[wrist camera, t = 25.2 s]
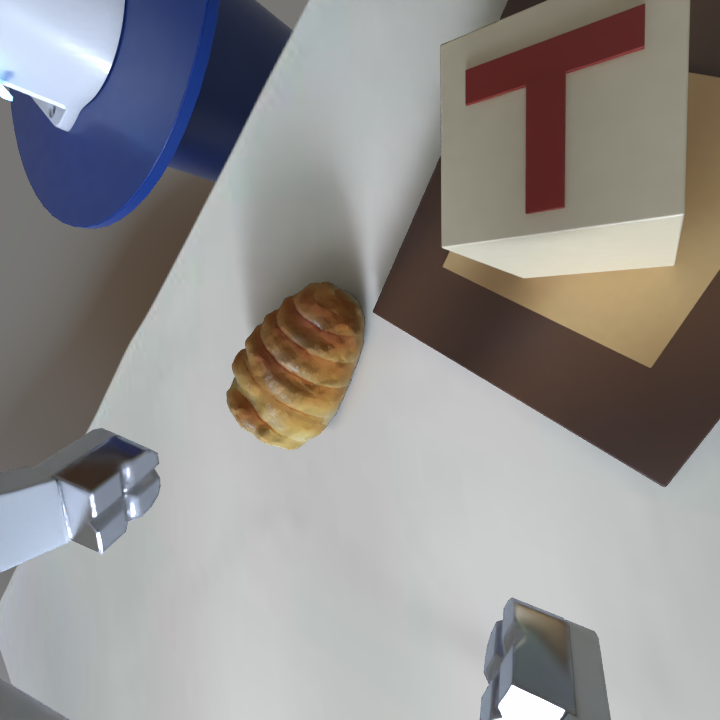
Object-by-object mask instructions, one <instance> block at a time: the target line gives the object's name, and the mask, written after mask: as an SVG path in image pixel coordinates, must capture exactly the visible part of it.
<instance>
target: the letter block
mask: <svg viewBox="0 0 720 720" xmlns="http://www.w3.org/2000/svg"><path fill="white" fill-rule="evenodd" d="M689 30H690V0H547V1H544V2H542V3H540V4H537V5H535V6H533V7H530V8H528V9H525V10H523V11H521V12H518V13H516V14H513V15H511V16H509V17H506V18H504V19H502V20H499V21H497V22H494V23H492V24H490V25H487V26H485V27H482V28H480V29H478V30H475V31H473V32H471V33H468V34H466V35H463V36H461V37H459V38H456V39H454V40H452V41H449V42H447V43H444V44H442V45H441V46H440V65H441V243H442V248H444V249H446V250H449V251H452V252H454V253H457V254H460V255H462V256H465V257H468V258H470V259H473V260H476V261H478V262H481V263H484V264H487V265H489V266H492V267H495V268H497V269H500V270H503V271H505V272H508V273H511V274H513V275H516V276H519V277H521V278H534V277H546V276H558V275H570V274H582V273H594V272H606V271H618V270H629V269H641V268H653V267H665V266H674V265H675V261H676V255H677V250H678V245H679V240H680V235H681V230H682V225H683V220H684V214H685V185H686V147H687V108H688V69H689Z"/></svg>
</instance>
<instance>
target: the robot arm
mask: <svg viewBox="0 0 720 720" xmlns="http://www.w3.org/2000/svg"><path fill="white" fill-rule="evenodd" d="M124 7H125V0H0V96H1V97H2V98H5V99H7V100H10V101H12V99H13V97H12V96H11V95H10V94H9V92H8V91H7V90H6V89H5V88H4V87H3V86H2V84H3V85H5V86H7V87H10V88H12V89H15V90H17V91H20V92H22V93H25V94H28V95H30V96H31V97H32V99H33V100H34V101H35V102H36V104H37V105H38V106H39V107H40V108H41V110H42V111H43V112H44V113H45V115H46V116H47V117H48V118H49V120H50V121H51V122H52V123H53V125H54V126H56V127H58V128H60V129H62V130H64V131H67V132H68V131H70V130H71V128H72V127H73V125H74V123H75V121H76V119H77V117H78V115H79V113H80V111H81V110H82V109H83V107H84V106H85V105H87V104H88V103H89V102H90V101H91V100H92V99H93V98H94V97H95V96H96V94H97V93H98V92H99V90H100V89H101V87H102V85H103V83H104V82H105V80H106V78H107V75H108V73H109V71H110V68H111V66H112V63H113V60H114V57H115V54H116V51H117V47H118V43H119V39H120V34H121V29H122V23H123V16H124ZM158 464H159V459H158V453H157V452H155V451H153V450H151V449H148V448H146V447H144V446H142V445H140V444H137V443H135V442H133V441H131V440H128V439H126V438H124V437H122V436H119V435H117V434H115V433H112V432H110V431H108V430H105V429H103V428H100V429H95V430H92V431H90V432H89V433H87V434H86V435H84V436H82V437H81V438H79V439H78V440H76V441H75V442H73V443H71V444H70V445H68V446H67V447H65V448H64V449H62V450H60V451H59V452H57V453H55V454H54V455H52V456H51V457H49V458H48V459H46V460H44V461H43V462H41V463H40V464H38V465H36V466H35V467H33V468H30V467H28V466H25V467H21V468H17V469H12V470H8V471H4V472H0V572H2V571H5V570H7V569H9V568H12V567H14V566H16V565H18V564H21V563H23V562H25V561H27V560H30V559H32V558H34V557H37V556H39V555H41V554H43V553H46V552H48V551H50V550H52V549H55V548H57V547H59V546H61V545H64V544H66V543H68V542H70V540H72V541H75V542H77V543H79V544H81V545H83V546H86V547H88V548H90V549H92V550H95V551H97V552H99V553H101V554H102V553H103V552H104V551H105V550H106V549H107V548H109V547H110V546H111V545H112V544H113V543H114V542H115V541H116V540H117V539H118V538H119V537H120V536H121V535H122V534H124V533H125V532H126V529H127V525H128V521H130V520H133V519H136V518H139V517H142V516H143V515H144V514H145V513H146V512H147V511H148V510H149V509H150V508H151V506H152V505H153V503H154V502H155V500H156V498H157V497H158V494H159V490H160V486H161V485H160V477H159V476H158V474H157V472H156V471H155V469H154V468H155V467H156V466H157V465H158ZM484 674H485V676H486V679H487V681H488V683H489V686H488V687H487V689H486V691H485V693H484V694H483V696H482V698H481V711H480V720H611V718H610V711H609V704H608V698H607V691H606V684H605V678H604V671H603V665H602V658H601V651H600V645H599V638H598V636H597V635H596V633H595V631H592V630H590V629H587V628H585V627H583V626H580V625H578V624H575V623H573V622H570V621H568V620H565V619H564V618H562V617H560V616H557V615H555V614H552V613H550V612H547V611H545V610H542V609H540V608H537V607H535V606H532V605H529V604H527V603H524V602H522V601H519V600H517V599H514V598H511V599H509V600H508V602H507V603H506V605H505V607H504V612H503V620H501V621H498V622H496V624H495V626H494V628H493V630H492V632H491V635H490V638H489V642H488V645H487V650H486V656H485V664H484ZM0 720H69V719H68V718H66V717H64V716H63V715H61V714H59V713H58V712H56V711H54V710H53V709H51V708H50V707H48V706H46V705H45V704H43V703H41V702H40V701H38V700H36V699H35V698H33V697H31V696H30V695H28V694H26V693H25V692H23V691H21V690H20V689H18V688H16V687H15V686H13V685H12V684H10V683H8V682H6V681H4V680H3V679H1V678H0Z"/></svg>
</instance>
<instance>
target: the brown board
mask: <svg viewBox="0 0 720 720" xmlns="http://www.w3.org/2000/svg"><path fill="white" fill-rule="evenodd" d="M544 1H547V0H508V2H507V5H506V7H505V9H504V11H503V14H502V16H501V18H500V20H502V19H504V18H506V17H509V16H511V15H513V14H516V13H518V12H521V11H523V10H525V9H528V8H530V7H533V6H535V5H537V4H540V3H542V2H544ZM373 312H374V313H375V314H377V315H378V316H380V317H382V318H383V319H385V320H387V321H388V322H390V323H392V324H393V325H395V326H397V327H398V328H400V329H402V330H403V331H405V332H407V333H408V334H410V335H412V336H413V337H415V338H417V339H418V340H420V341H421V342H423V343H425V344H426V345H428V346H430V347H431V348H433V349H435V350H436V351H438V352H440V353H441V354H443V355H445V356H446V357H448V358H450V359H451V360H453V361H455V362H456V363H458V364H460V365H461V366H463V367H465V368H466V369H468V370H470V371H471V372H473V373H475V374H476V375H478V376H480V377H481V378H483V379H485V380H486V381H488V382H490V383H491V384H493V385H495V386H496V387H498V388H500V389H501V390H503V391H505V392H506V393H508V394H510V395H511V396H513V397H515V398H516V399H518V400H520V401H521V402H523V403H525V404H526V405H528V406H529V407H531V408H533V409H534V410H536V411H538V412H539V413H541V414H543V415H544V416H546V417H548V418H549V419H551V420H553V421H554V422H556V423H558V424H559V425H561V426H563V427H564V428H566V429H568V430H569V431H571V432H573V433H574V434H576V435H578V436H579V437H581V438H583V439H584V440H586V441H588V442H589V443H591V444H593V445H594V446H596V447H598V448H599V449H601V450H603V451H604V452H606V453H608V454H609V455H611V456H613V457H614V458H616V459H618V460H619V461H621V462H623V463H624V464H626V465H628V466H629V467H631V468H632V469H634V470H636V471H637V472H639V473H641V474H642V475H644V476H646V477H647V478H649V479H651V480H652V481H654V482H656V483H657V484H659V485H661V486H662V487H666V486H667V485H668V484H669V483H670V481H671V480H672V479H673V478H674V476H675V475H676V474H677V472H678V471H679V470H680V469H681V467H682V466H683V465H684V464H685V462H686V461H687V460H688V459H689V457H690V456H691V455H692V453H693V452H694V451H695V450H696V448H697V447H698V446H699V445H700V443H701V442H702V441H703V440H704V438H705V437H706V436H707V435H708V433H709V432H710V431H711V429H712V428H713V427H714V426H715V424H716V423H717V422H718V421H719V419H720V0H690V30H689V69H688V108H687V147H686V185H685V214H684V220H683V225H682V230H681V235H680V240H679V245H678V250H677V255H676V261H675V265H674V266H665V267H653V268H641V269H629V270H618V271H606V272H594V273H582V274H570V275H558V276H546V277H534V278H521V277H519V276H516V275H513V274H511V273H508V272H505V271H503V270H500V269H497V268H495V267H492V266H489V265H487V264H484V263H481V262H478V261H476V260H473V259H470V258H468V257H465V256H462V255H460V254H457V253H454V252H452V251H449V250H446V249H444V248H442V243H441V156H440V158H439V161H438V163H437V165H436V168H435V170H434V172H433V174H432V177H431V179H430V181H429V184H428V186H427V188H426V191H425V193H424V195H423V197H422V200H421V202H420V204H419V207H418V209H417V211H416V213H415V216H414V218H413V220H412V223H411V225H410V227H409V230H408V232H407V234H406V236H405V239H404V241H403V243H402V246H401V248H400V250H399V252H398V255H397V257H396V259H395V262H394V264H393V266H392V269H391V271H390V273H389V275H388V278H387V280H386V282H385V285H384V287H383V289H382V292H381V294H380V296H379V298H378V301H377V303H376V305H375V308H374V310H373Z"/></svg>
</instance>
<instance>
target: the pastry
mask: <svg viewBox="0 0 720 720" xmlns="http://www.w3.org/2000/svg"><path fill="white" fill-rule="evenodd" d="M364 325H365V317H364V314H363V311H362V308H361V306H360V304H359V303H358V302H357V301H356V300H355V299H354V298H353V297H352V295H350V294H349V293H348V292H346V291H344V290H342V289H340V288H338V287H336V286H335V285H333V284H331V283H329V282H321V283H316V284H309V285H308V286H306V287H305V288H304V289H303V290H301V291H300V292H299V293H297V294H295V295H294V296H290V297H287V298H285V300H284V301H283V303H282V305H281V307H280V308H279V309H277V310H274V311H273V312H271V313H269V314H268V315H266V316H265V318H264V321H263V324H260V325H258V326H257V327H256V328H255V329H254V331H253V332H252V334H251V335H250V336H249V337H248V338H247V340H246V341H245V347H246V348H245V349H242V350H241V351H240V352H239V353H238V354H237V355H236V357H235V359H234V362H233V364H232V370H233V373H234V375H235V378H234V380H233V382H232V385H231V387H230V389H229V390H228V391H227V394H226V395H227V404H228V406H229V409H230V412H231V413H232V414H233V416H234V417H235V419H236V420H237V422H238V423H239V425H240V426H241V427H242V428H244V429H245V430H247V431H249V432H251V433H252V434H253V435H254V436H255V437H256V438H257V439H259V440H261V441H262V442H264V443H267V444H270V445H273V446H278V447H281V448H285V449H288V450H292V449H296V448H299V447H300V446H302V445H303V444H305V443H306V442H308V441H309V440H310V439H312V438H314V437H316V436H318V435H319V434H320V433H321V432H322V431H323V430H324V429H325V428H326V427H327V425H328V424H329V422H330V421H331V420H332V418H333V417H334V416H335V415H336V413H337V411H338V408H339V406H340V403H341V401H342V400H343V398H344V395H345V392H346V390H347V388H348V386H349V384H350V381H351V380H352V379H351V377H352V374H353V372H354V369H355V368H356V365H357V362H358V359H359V356H360V353H361V349H362V346H363V342H364Z"/></svg>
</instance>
